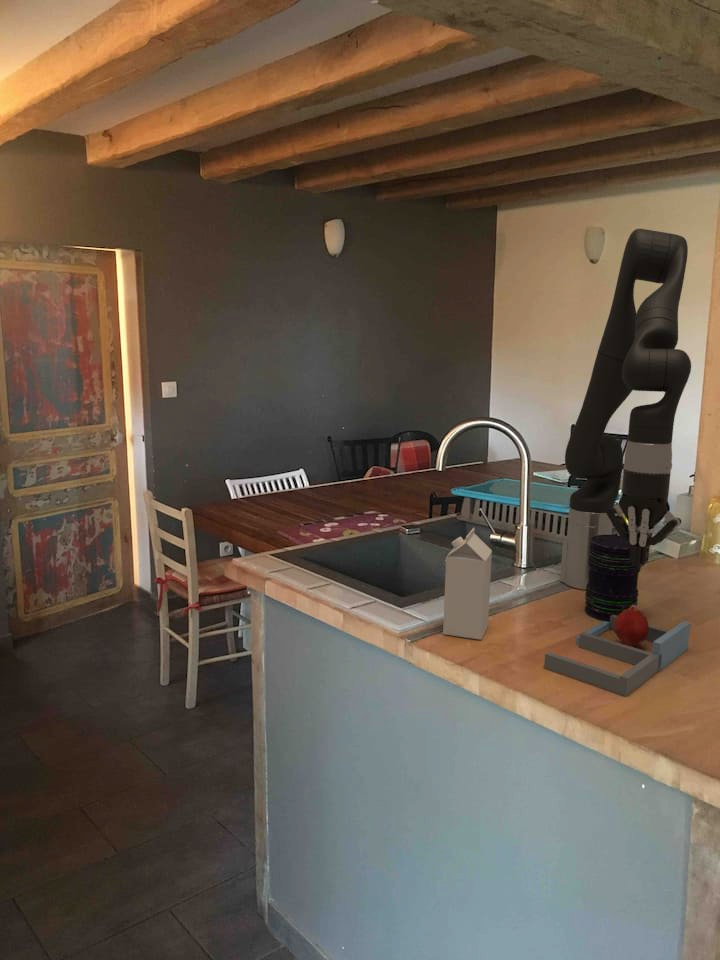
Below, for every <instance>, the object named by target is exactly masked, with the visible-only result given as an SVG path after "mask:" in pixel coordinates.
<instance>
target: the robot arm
mask: <svg viewBox="0 0 720 960" xmlns="http://www.w3.org/2000/svg"><path fill="white" fill-rule="evenodd" d="M688 246H689V245H688V242H687V240H686V238H685V237H684V236H683V235H679V234H676V233H671V232H670V233H669V232H663V231H660V230H659V231H658V230H652V229H646V228H636V229H634V230H633V231H631V233H630V235H629V237H628V239H627V241H626V244H625V247H624V251H623V254H622V259H621V263H620V267H619V273H618V276H617V281H616V285H615V288H614V289H615V290H614V295H613V299H612V303H611V307H610V310H609V314H608V319H607V322H606V325H605V327H604V331H603V334H602V337H601V340H600V344H599V347H598V348H597V349H598V350H597V354H596V357H595V360H594V364H593V367H592V372H591V376H590V380H589V383H588V387H587V389H586V393H585V396H584V399H583V402H582V405H581V409H580V412H579V415H578V417H577V420H576V422H575V424H574V427H573V429H572V432H571V435H570V437H569V438H568V441H567V445H566V447H565V455H564V464H565V468H566V471H567V472H568V474H569V475H570V476H571V477H573V478H574V479H579V480H585V482H584V484H582V485H581V487H580V488H577V489H576V490H575V491H573V492H572V493H571V495H570V497H569V505H568V506H569V507H568V509H569V510H568V519H567V520H568V522H567V534H566V539H563V540H562V541H563V542H562V553H561V563H560V564H561V565H560V578H559V579H560V580H559V582H560V581H561V583H564V584H565V585H567V586H568V587H571V588H575V589H578V590H585V591H586V585H587V584H588V580H589V566H588V561H589V550H590V545H591V543H590V540H591V537H593V536H596V535H612V532H613V529H612V528H613V527H614V529H615V531H616V533H617V534H618V535H619V536H620V537H621V538H622V539H625V540H627V541H629V543H630V556H629V559H630V562H632V565H633V566H638V567H641V568H642V567H643V566H645V564H647V563H648V562H649V557H650V547H651V546H656V545H658V544H660V543H662V542H663V541H664V540H665V539H666V538H668V536H669V535H670V534H672V532H674V530H676V529H677V528H678V527H679V526H680V525H681V524H682V519H681V518H680V517H676V516H675V515H674V514H673V513H672V512H671V511H670V509H671V508H670V505H669V501H668V499H669V494H670V493H669V492H670V483H671V475H672V473H671V471H672V468H673V463H672V461H673V448H672V447H673V444H672V443H673V434H674V425H675V424H674V423H675V416H676V415H677V414H676V413H677V409H678V405H679V403H680V400H681V397H682V394H683V392H684V391H685V387H686V385H687V383H688V381H689V377H690V375H691V371H692V361H691V359H690V356H689V355H688V354H687V352H686V351H684V350H683V349H676V347H677V345H678V342H679V306H680V300H681V296H682V292H683V291H682V290H683V287H684V285H683V284H684V281H685V280H684V279H685V273H686V268H687V262H688V251H689V249H688V248H689V247H688ZM636 281H643V282H649V283H655V284H662V285H660V286H659V287H658V288H657V289H656V290H654V291H653V292H651V294H649V295H648V296H647V297H646V298H645V299H644V300H643V301H642V302H641V303H640V305H639V307H638V309H637V310H636V303H635V298H634V297H635V296H634V295H635V294H634V293H635V292H634V290H635V282H636ZM633 391H637V392H657V393H658V392H660V393H661V392H663V393H664V395H663V397H662V398H661V399H659V401H657V402H654V403H649V404H643V405H638V406H635V407H633V408H632V409H631V410H630V413H629V419H628V420H629V421H628V422H629V423H628V432H627V443H626V448H625V453H623V452H624V451H623V448H622V444H621V442H620V441H619V439H618V438H617V437H615V436H614V435H611V434H606V433H605V431H606V429H607V425H608V424H609V422H610V419H612V417H613V416H614V414H615V412H616V411H617V410H618V409H619V408H620V406H622V404H623V403H624V402H625V401H626V399H627V398H628V397H629V396H630V395H631V393H632V392H633ZM622 474H623V476H622ZM621 480H622V486H621ZM620 486H621V497H620V498H619V500H618V504H616V505H615V503H616V501H617V499H618V497H619V495H620V494H619V493H620ZM623 515H624V516H625V518H624V516H623ZM663 519H664V520H663ZM626 520H627V521H626ZM661 521H662V525H663V527H662V528H661V529H659V530H658V532H657V533H655V535H653V534H654V532H655V529H656V526H657V525H658V524H659V523H660V522H661Z"/></svg>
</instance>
